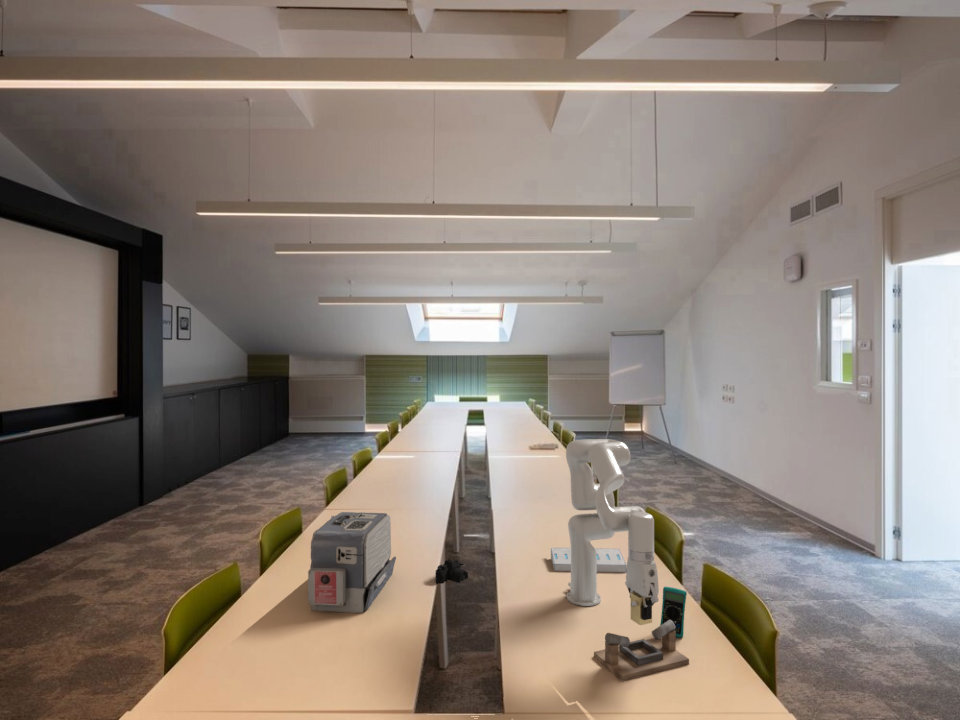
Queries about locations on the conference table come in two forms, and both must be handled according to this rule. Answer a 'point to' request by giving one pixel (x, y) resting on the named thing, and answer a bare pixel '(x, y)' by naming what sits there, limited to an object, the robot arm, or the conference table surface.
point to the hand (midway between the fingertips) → (641, 614)
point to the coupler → (638, 609)
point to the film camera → (450, 572)
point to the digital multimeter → (674, 608)
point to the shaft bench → (641, 653)
